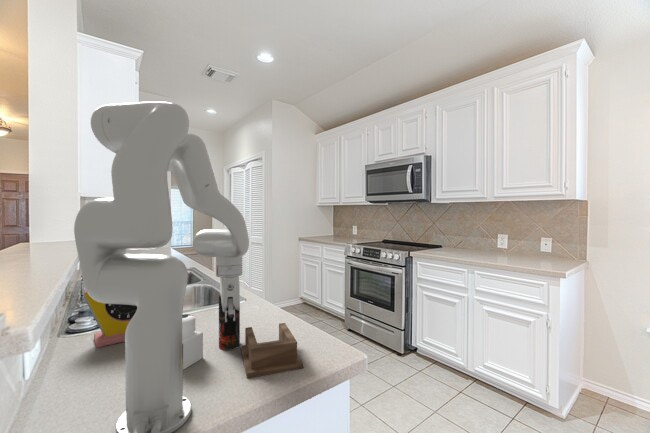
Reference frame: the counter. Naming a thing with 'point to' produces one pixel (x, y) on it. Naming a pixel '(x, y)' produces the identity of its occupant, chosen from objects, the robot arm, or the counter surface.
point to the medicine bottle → (190, 342)
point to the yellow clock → (110, 320)
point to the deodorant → (231, 340)
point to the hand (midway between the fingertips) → (229, 330)
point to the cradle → (270, 353)
